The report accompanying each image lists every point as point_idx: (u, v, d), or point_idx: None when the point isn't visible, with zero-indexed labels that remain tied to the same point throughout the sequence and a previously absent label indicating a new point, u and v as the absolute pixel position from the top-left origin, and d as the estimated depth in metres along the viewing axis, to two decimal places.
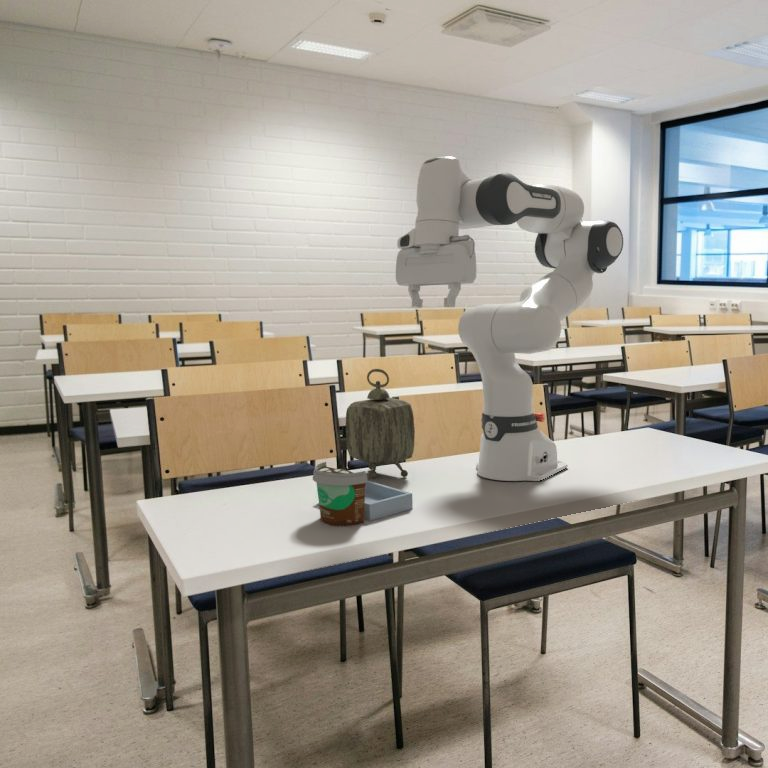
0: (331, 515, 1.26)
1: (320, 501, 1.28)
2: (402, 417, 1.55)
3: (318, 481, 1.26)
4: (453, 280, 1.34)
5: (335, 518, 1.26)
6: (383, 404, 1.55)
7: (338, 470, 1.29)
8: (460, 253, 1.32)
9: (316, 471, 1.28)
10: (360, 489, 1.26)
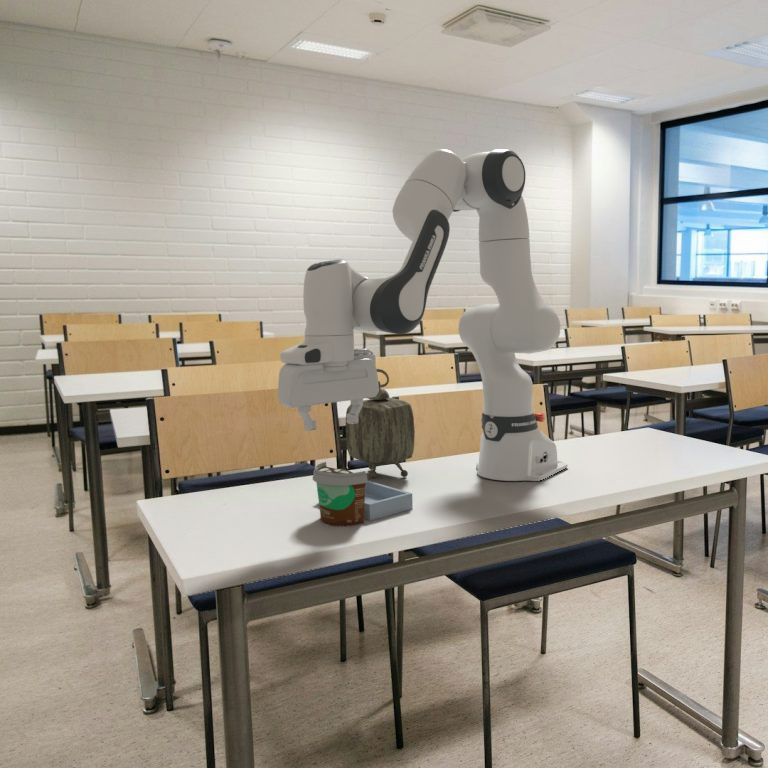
0: (331, 515, 1.26)
1: (320, 501, 1.28)
2: (402, 417, 1.55)
3: (318, 481, 1.26)
4: (367, 396, 1.29)
5: (335, 518, 1.26)
6: (383, 404, 1.55)
7: (338, 470, 1.29)
8: (373, 369, 1.30)
9: (316, 471, 1.28)
10: (360, 489, 1.26)
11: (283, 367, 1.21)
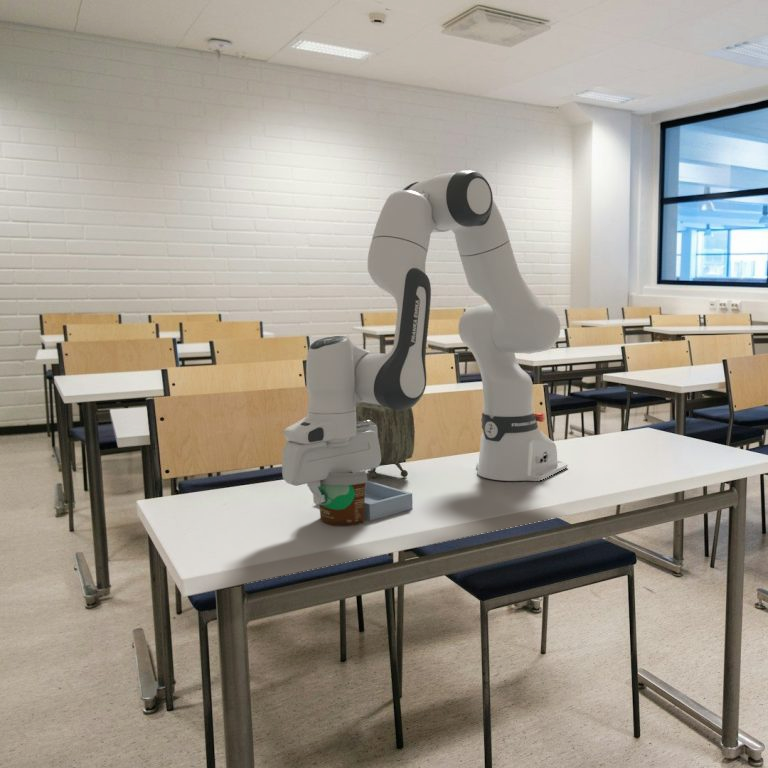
0: (331, 515, 1.26)
1: None
2: (402, 417, 1.55)
3: None
4: (370, 468, 1.31)
5: (335, 518, 1.26)
6: None
7: None
8: (375, 440, 1.31)
9: None
10: (360, 489, 1.26)
11: (287, 445, 1.23)
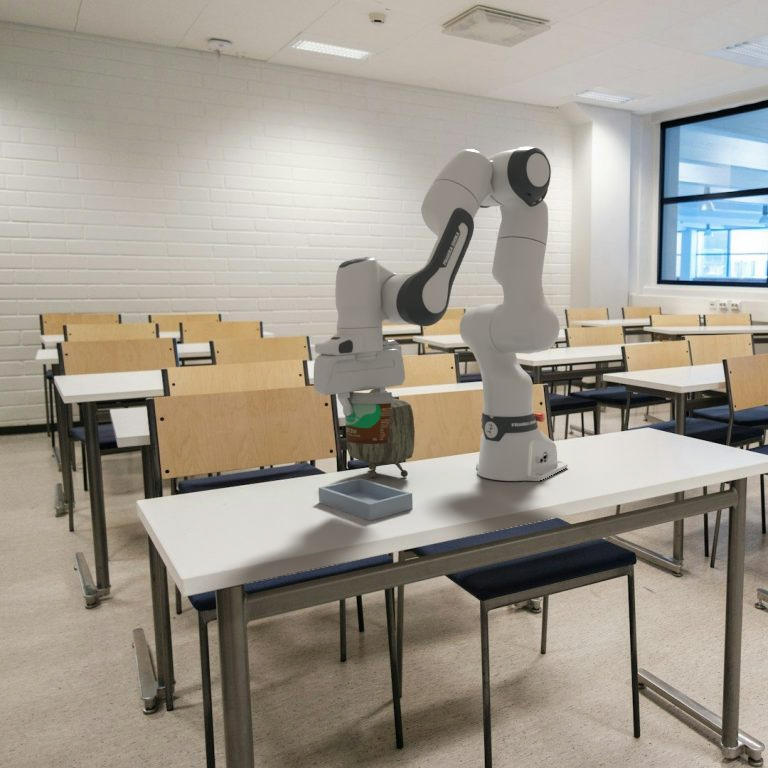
0: (358, 433, 1.34)
1: (347, 421, 1.36)
2: (402, 417, 1.55)
3: None
4: (395, 384, 1.39)
5: (361, 436, 1.34)
6: None
7: None
8: (400, 358, 1.39)
9: None
10: (386, 409, 1.33)
11: (318, 357, 1.30)
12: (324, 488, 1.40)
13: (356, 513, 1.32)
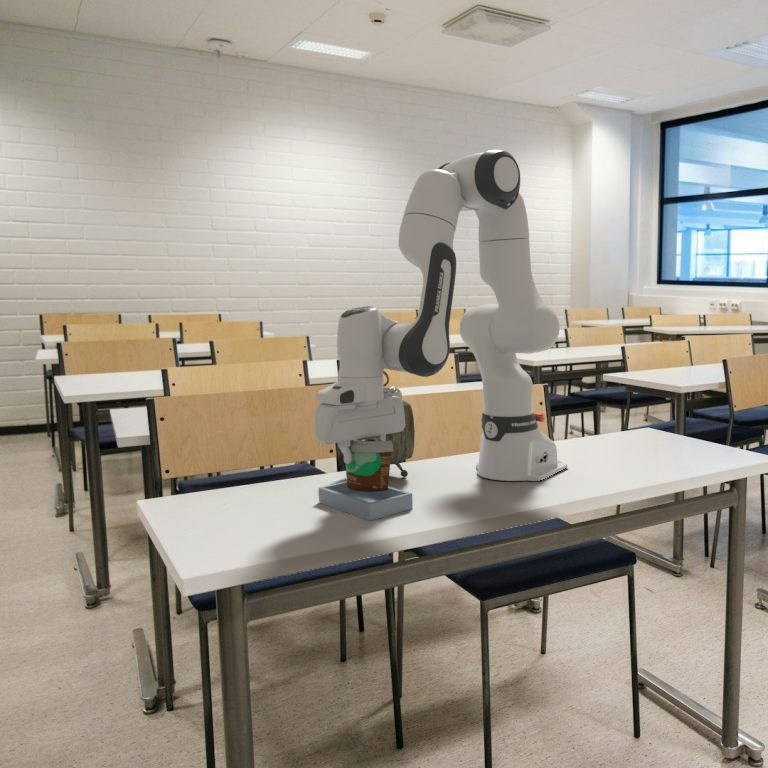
0: (358, 481, 1.35)
1: (348, 468, 1.37)
2: None
3: None
4: (395, 431, 1.40)
5: (361, 484, 1.35)
6: None
7: (366, 440, 1.38)
8: (400, 405, 1.40)
9: None
10: (386, 457, 1.34)
11: (319, 406, 1.31)
12: (324, 488, 1.40)
13: (356, 513, 1.32)
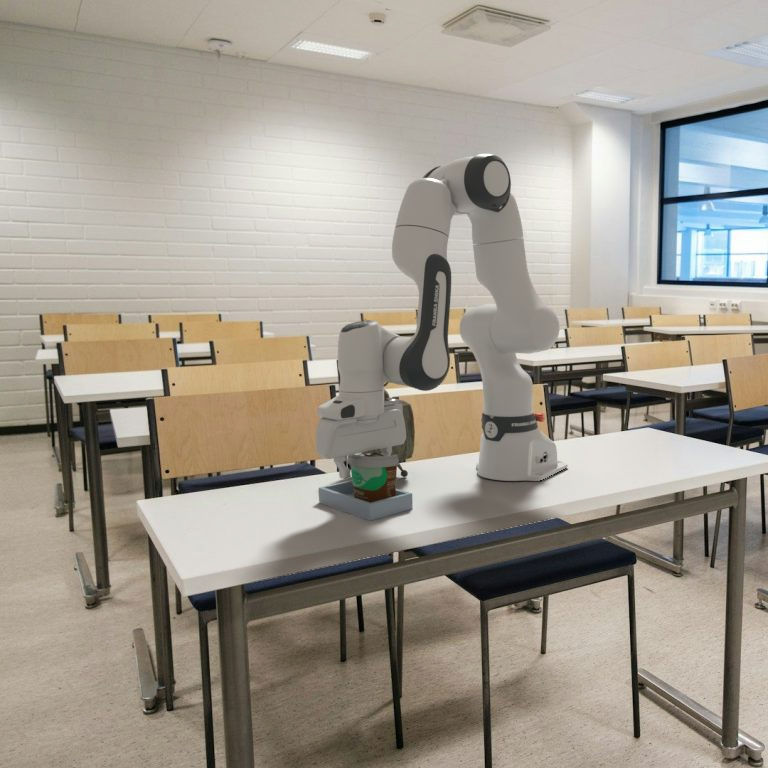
0: (365, 495, 1.36)
1: (354, 483, 1.38)
2: None
3: (353, 464, 1.36)
4: (396, 444, 1.40)
5: (369, 498, 1.36)
6: None
7: (371, 454, 1.39)
8: (401, 418, 1.41)
9: (351, 455, 1.38)
10: (392, 471, 1.36)
11: (320, 421, 1.32)
12: (324, 488, 1.40)
13: (356, 513, 1.32)
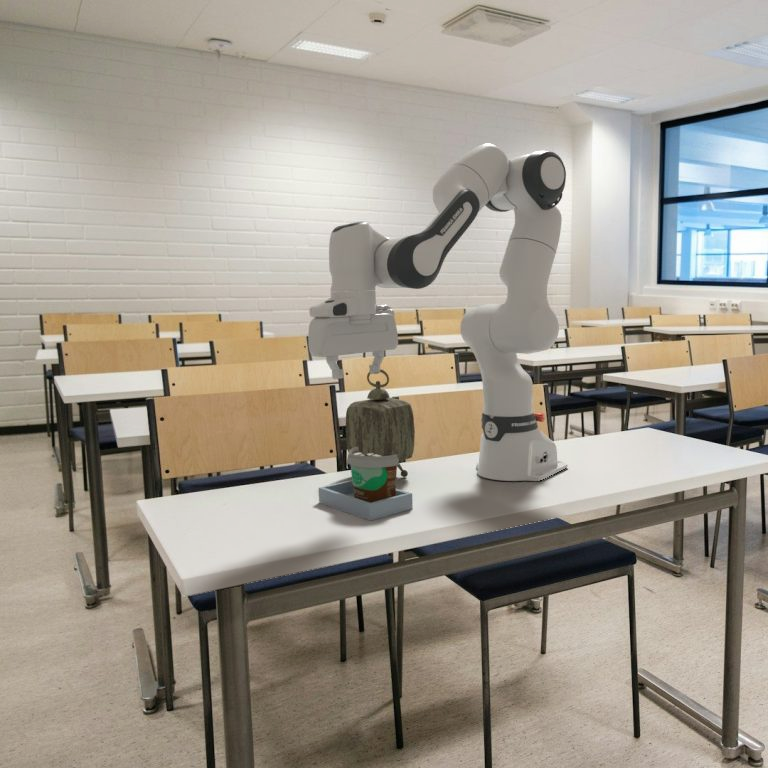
0: (365, 495, 1.36)
1: (354, 483, 1.38)
2: (402, 417, 1.55)
3: (353, 464, 1.36)
4: (388, 348, 1.41)
5: (369, 498, 1.36)
6: (383, 404, 1.55)
7: (371, 454, 1.39)
8: (393, 323, 1.41)
9: (351, 455, 1.38)
10: (392, 471, 1.36)
11: (312, 321, 1.32)
12: (324, 488, 1.40)
13: (356, 513, 1.32)
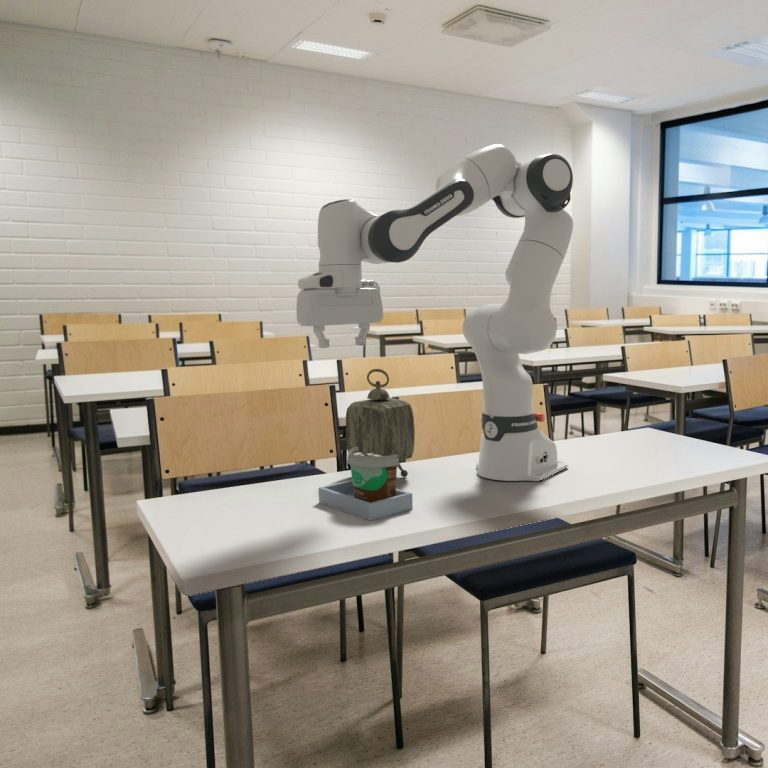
0: (365, 495, 1.36)
1: (354, 483, 1.38)
2: (402, 417, 1.55)
3: (353, 464, 1.36)
4: (373, 321, 1.48)
5: (369, 498, 1.36)
6: (383, 404, 1.55)
7: (371, 454, 1.39)
8: (378, 297, 1.48)
9: (351, 455, 1.38)
10: (392, 471, 1.36)
11: (300, 292, 1.40)
12: (324, 488, 1.40)
13: (356, 513, 1.32)
